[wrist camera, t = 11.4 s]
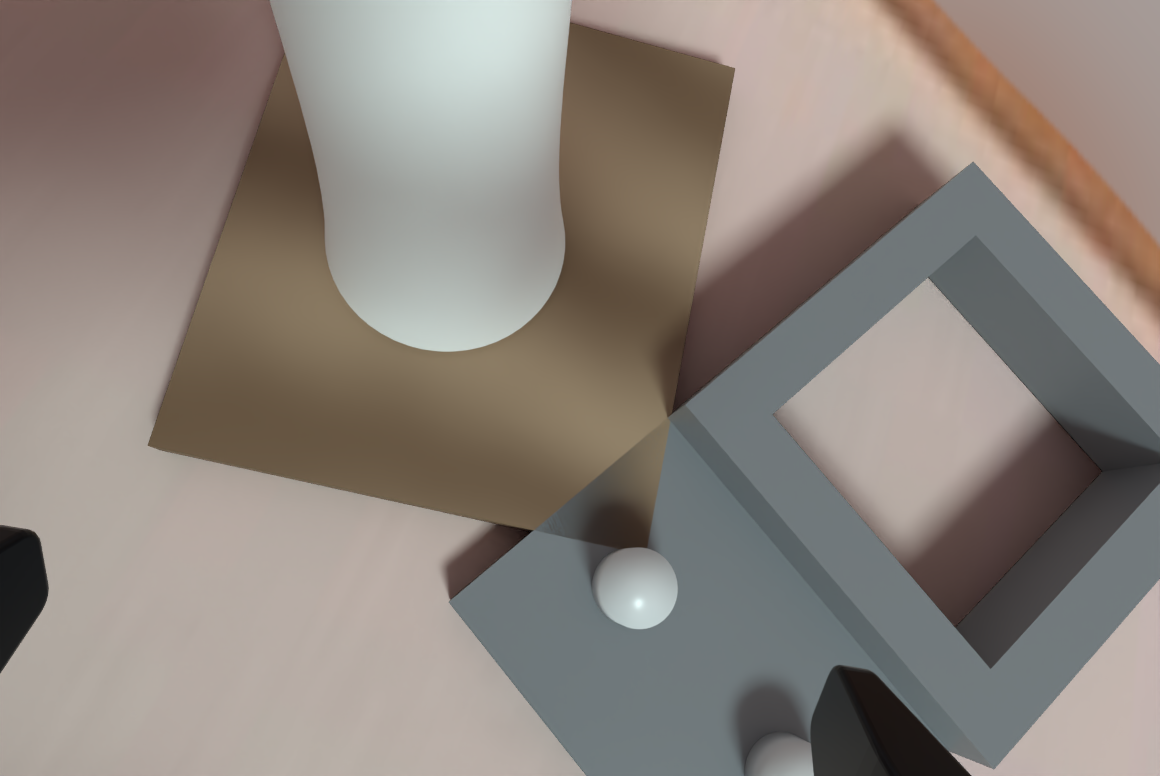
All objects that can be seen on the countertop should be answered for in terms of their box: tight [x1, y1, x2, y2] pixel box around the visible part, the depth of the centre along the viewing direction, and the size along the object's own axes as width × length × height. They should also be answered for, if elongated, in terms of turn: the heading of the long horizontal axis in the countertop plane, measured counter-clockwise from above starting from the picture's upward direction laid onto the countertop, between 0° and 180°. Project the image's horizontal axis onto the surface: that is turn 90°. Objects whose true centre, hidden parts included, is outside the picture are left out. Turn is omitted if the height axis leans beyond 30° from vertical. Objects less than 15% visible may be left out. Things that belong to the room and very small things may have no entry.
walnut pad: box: [148, 23, 735, 549], centre depth 21 cm, size 14×12×1 cm
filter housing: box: [449, 162, 1160, 776], centre depth 19 cm, size 18×11×2 cm, turn 130°
